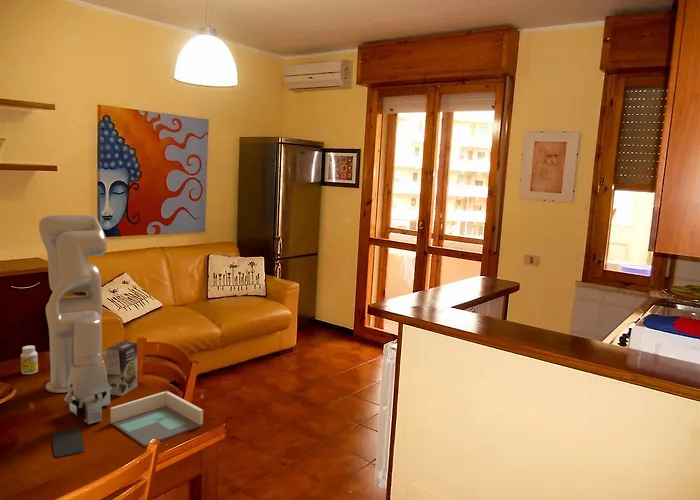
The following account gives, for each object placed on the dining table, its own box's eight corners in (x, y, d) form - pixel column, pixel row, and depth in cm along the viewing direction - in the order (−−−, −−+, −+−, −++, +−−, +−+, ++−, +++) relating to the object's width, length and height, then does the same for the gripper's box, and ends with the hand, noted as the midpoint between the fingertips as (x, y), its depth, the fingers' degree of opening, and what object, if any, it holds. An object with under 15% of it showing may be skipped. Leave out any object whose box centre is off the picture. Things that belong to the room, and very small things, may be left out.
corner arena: (110, 423, 163) (110, 407, 162) (167, 405, 178) (167, 390, 177) (144, 447, 150) (144, 430, 150) (202, 425, 165) (203, 409, 164)
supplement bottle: (41, 371, 201) (40, 346, 199) (28, 375, 196) (27, 350, 195) (31, 368, 203) (30, 343, 201) (17, 373, 198) (16, 347, 197)
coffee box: (122, 396, 182) (122, 350, 180) (105, 394, 184) (105, 348, 181) (138, 386, 191) (138, 342, 189) (122, 384, 192) (121, 340, 190)
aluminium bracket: (69, 410, 169) (69, 391, 168) (104, 399, 177) (104, 382, 176) (88, 424, 160) (88, 405, 160) (124, 413, 169) (124, 394, 168)
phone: (54, 457, 142) (50, 432, 155) (54, 460, 142) (50, 435, 155) (85, 451, 146) (79, 427, 159) (85, 453, 146) (79, 429, 159)
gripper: (109, 349, 170) (110, 404, 173) (53, 361, 158) (54, 420, 160) (121, 355, 166) (121, 411, 168) (64, 368, 153) (65, 429, 156)
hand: (89, 415), depth 164 cm, fingers closed on aluminium bracket, 4 cm apart
